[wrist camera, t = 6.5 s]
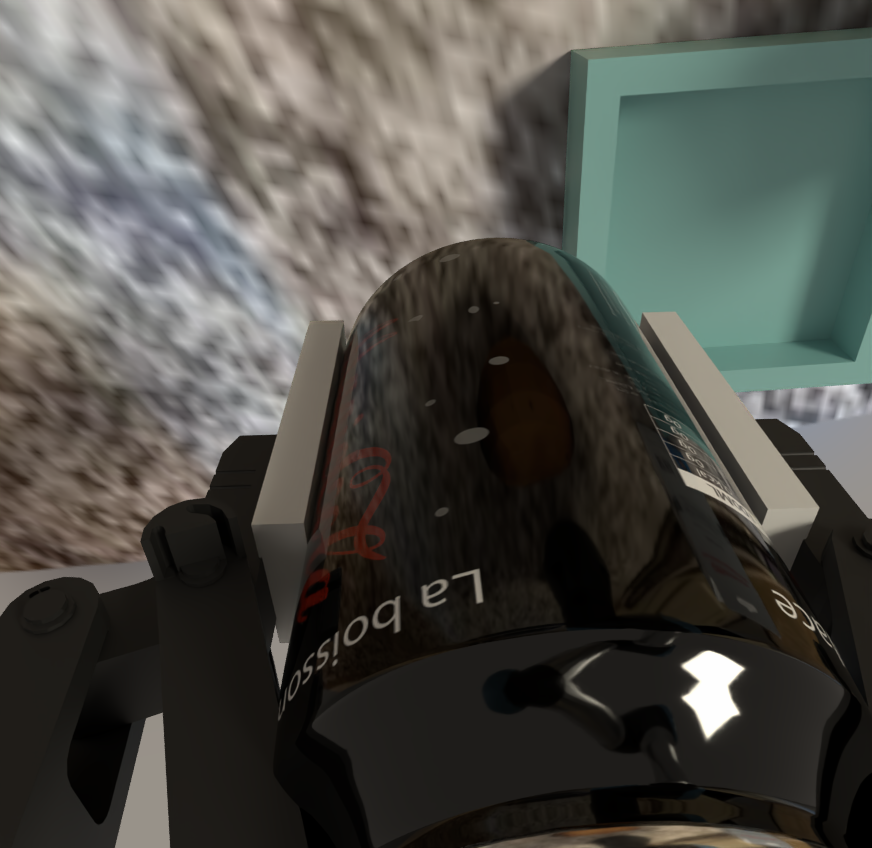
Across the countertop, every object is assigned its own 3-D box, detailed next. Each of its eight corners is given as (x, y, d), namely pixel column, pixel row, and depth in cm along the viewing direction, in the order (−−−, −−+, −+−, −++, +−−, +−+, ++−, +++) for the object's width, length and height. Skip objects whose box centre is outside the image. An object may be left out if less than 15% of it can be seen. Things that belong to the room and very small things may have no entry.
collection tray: (571, 50, 25) (588, 59, 22) (945, 21, 25) (1004, 27, 22) (556, 370, 33) (567, 404, 30) (839, 351, 33) (873, 382, 30)
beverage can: (342, 461, 18) (252, 1082, 8) (348, 206, 14) (184, 802, 4) (591, 476, 18) (795, 1076, 8) (663, 233, 14) (1196, 824, 5)
